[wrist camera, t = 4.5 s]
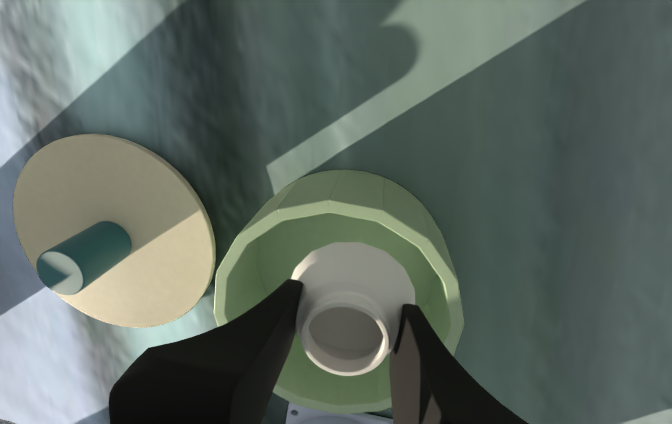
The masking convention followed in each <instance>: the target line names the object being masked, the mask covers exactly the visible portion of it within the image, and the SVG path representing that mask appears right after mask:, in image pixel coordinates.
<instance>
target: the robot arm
mask: <svg viewBox="0 0 672 424" xmlns="http://www.w3.org/2000/svg"><path fill="white" fill-rule="evenodd" d="M302 287H303V283H302V282H301V281H298V280H294V279H287V280H286V281H285V282H283V283H282V284H281V285H280V286H279V287H278V288H277V289H276V290H275V291H273V292H272V293H271V294H270V295H268V296H267V297H266V298H265V299H263V300H262V301H261V302H260V303H258V304H257V305H255V306H254V307H252V308H251V309H249V310H248V311H247V312H245V313H244V314H242V315H240V316H239V317H237V318H235V319H234V320H232V321H230V322H228V323H226V324H224V325H222V326H219V327H217V328H215V329H212V330H210V331H208V332H205V333H203V334H200V335H197V336H194V337H191V338H188V339H184V340H181V341H177V342H173V343H169V344H164V345H160V346H155V347H150V348H148V349H147V350H146V351H145V352H144V353H143V354H142V355H140V356H139V357H138V358H137V359H136V360H135V361H134V363H133V364H132V365H131V366H130V367H129V368H128V369H127V370H126V372H125V373H124V374H123V375H122V376H121V377H120V379H119V380H118V381H117V382H116V383H115V384H114V386H113V388H112V390H111V392H110V396H109V414H110V424H261V422H262V419H263V416H264V413H265V409H266V407H267V404H268V401H269V399H270V396H271V394H272V392H273V389H274V387H275V385H276V382H277V380H278V378H279V375H280V373H281V371H282V368H283V366H284V364H285V361H286V359H287V357H288V354H289V352H290V350H291V346H292V343H293V340H294V336H295V333H296V330H295V325H296V316H297V311H298V305H299V300H300V295H301V291H302ZM389 376H390V389H391V402H392V414H393V419H389V418H385V417H380V416H376V415H371V414H367V413H350V414H334V413H329V412H325V411H320V410H316V409H311V408H307V407H302V406H298V405H296V404H293V403H291V402H289V405H288V411H287V418H286V424H529V423H527V422H526V421H524V420H523V419H521V418H520V417H518V416H517V415H516V414H514V413H513V412H512V411H510V410H509V409H508V408H506V407H505V406H504V405H502V404H501V403H500V402H499V401H498V400H496V399H495V398H494V397H493V396H492V395H490V394H489V393H488V392H487V391H486V390H485V389H484V388H483V387H481V386H480V385H479V384H478V383H477V382H476V381H475V380H474V379H473V378H472V377H471V376H470V375H469V374H468V373H467V372H466V370H465V369H464V368H463V367H462V366H461V365H460V364H459V363H458V362H457V361H456V359H455V358H454V357H453V356H452V354H451V353H450V352H449V351H448V349H447V348H446V347H445V345H444V344H443V343H442V341H441V340H440V338H439V337H438V336H437V334H436V333H435V331H434V330H433V328H432V326H431V325H430V323H429V322H428V320H427V319H426V317H425V315H424V314H423V312H422V311H421V309H420V307H419V306H418V305H414V304H409V303H407V304H403V308H402V316H401V322H400V327H399V331H398V335H397V339H396V342H395V346H394V348H393V351H392V352H390V362H389ZM294 410H296V411H294ZM0 424H15V423H13V422H9V421H5V420H1V419H0Z"/></svg>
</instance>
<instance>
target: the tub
mask: <svg viewBox="0 0 672 424" xmlns="http://www.w3.org/2000/svg"><path fill="white" fill-rule="evenodd" d="M334 242H362V243H364V244H367V245H370V246H373V247H375V248H378V249H381V250H384V251H386V252H387V253H388V254H389V255H390V256H392V257H393V258H394V259H395V260H396V261H397V262H398V263H399V264H401V265H402V266H403V267H404V268H405V270H406V272H407V274H408V276H409V278H410V281H411V283H412V285H413V287H414V289H415V305H418V306H419V307H420V309H421V311H422V312H423V314H424V315H425V317H426V319H427V320H428V322H429V323H430V325H431V326H432V328H433V330H434V331H435V333H436V334H437V336H438V337H439V338H440V340H441V341H442V343H443V344H444V345H445V347H446V348H447V349H448V351H449V352H450V353H451V354H452V356H454V354H455V351H456V348H457V345H458V342H459V339H460V336H461V333H462V330H463V327H464V316H463V310H462V303H461V296H460V289H459V283H458V279H457V276H456V273H455V270H454V267H453V264H452V261H451V258H450V255H449V252H448V249H447V246H446V243H445V241H444V238H443V235H442V233H441V231H440V230H439V228H438V227H437V225H436V223H435V222H434V220H433V218H432V216H431V215H430V213H429V212H428V211H427V209H426V208H425V207H424V206H423V204H422V203H421V202H420V201H419V200H418V199H417V198H416V197H415V196H414V195H412V194H411V193H410V192H408V191H407V190H406V189H404V188H403V187H402V186H400V185H398V184H396V183H394V182H393V181H391V180H389V179H386V178H384V177H381V176H379V175H376V174H372V173H368V172H364V171H357V170H329V171H322V172H318V173H314V174H311V175H308V176H305V177H302V178H300V179H298V180H296V181H294V182H293V183H291V184H289V185H288V186H286V187H285V188H284V189H282V190H281V191H280V192H279V193H277V194H276V195H275V196H273V197H272V198H270V199H269V200H268V201H267V202H266V203H265V204H264V206H263V207H262V208H261V209H260V210H259V211H258V213H257V214H256V215H255V216H254V217H253V218H252V219H251V221H250V222H249V223H248V224H247V225H246V226H245V227H244V229H243V230H242V231H241V232H240V233H239V234H238V235H237V237H236V238H235V240H234V242H233V244H232V245H231V247H230V249H229V251H228V252H227V254H226V256H225V258H224V259H223V261H222V263H221V265H220V266H219V268H218V270H217V272H216V280H215V299H214V317H215V319H216V322H217V324H218V327H219V326H222V325H224V324H226V323H228V322H230V321H232V320H234V319H235V318H237V317H239V316H240V315H242V314H244V313H245V312H247V311H248V310H249V309H251V308H252V307H254V306H255V305H257V304H258V303H260V302H261V301H262V300H263V299H265V298H266V297H267V296H268V295H270V294H271V293H272V292H273V291H275V290H276V289H277V288H278V287H279V286H280V285H281V284H282V283H283V282H285V281H286V280H287V279H291V278H292V275H293V272H294V270H295V268H296V267H297V266H298V265H299V264H300V263H301V262H302V261H303V260H304V259H305V257H306V256H307V255H308V254H309V253H310V252H311V251H314V250H316V249H319V248H321V247H324V246H326V245H329V244H331V243H334ZM389 362H390V353H389V354H388V355H387V356H386V357H385V359H384V360H383V361H382V362H381V364H380V365H378V366H377V367H376V368H374V369H373V370H371V371H369V372H367V373H364V374H360V375H354V376H343V375H337V374H333V373H330V372H328V371H326V370H324V369H322V368H320V367H319V366H317V365H316V364H315V363H314V362H313V361H312V360H311V359H310V358H309V357H308V356H307V354H306V352H305V351H304V348H303V346H302V343H301V340H300V338H299V336H298V335H297V333H295V336H294V340H293V343H292V346H291V350H290V352H289V354H288V357H287V359H286V361H285V364H284V366H283V368H282V371H281V373H280V375H279V378H278V380H277V382H276V385H275V387H274V389H273V393H275V394H277V395H278V396H280V397H282V398H284V399H286V400H287V401H289V402H291V403H293V404H296V405H298V406H302V407H307V408H311V409H316V410H320V411H325V412H329V413H334V414H350V413H363V412H376V411H381V410H382V411H383V410H385V409H388V408H390V407H392V402H391V389H390V376H389Z"/></svg>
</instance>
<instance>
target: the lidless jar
mask: <svg viewBox="0 0 672 424" xmlns="http://www.w3.org/2000/svg"><path fill="white" fill-rule="evenodd" d="M291 279H294V280H298V281H301V282H302V283H303V287H302V291H301V295H300V300H299V305H298V311H297V316H296V325H295V330H296V333H297V335H298V336H299V338H300V340H301V343H302V346H303V348H304V351H305V352H306V354H307V356H308V357H309V358H310V359H311V360H312V361H313V362H314V363H315V364H316V365H317V366H319V367H320V368H322V369H324V370H326V371H328V372H330V373H333V374H337V375H343V376H354V375H360V374H364V373H367V372H369V371H371V370H373V369H374V368H376V367H377V366H378V365H380V364H381V362H382V361H383V360H384V359H385V357H386V356H387V355H388V354H389V353H390V352H392V351H393V348H394V346H395V342H396V339H397V335H398V331H399V327H400V322H401V316H402V308H403V304H407V303H409V304H414V305H415V289H414V287H413V285H412V283H411V281H410V278H409V276H408V274H407V272H406V270H405V268H404V267H403V266H402V265H401V264H399V263H398V262H397V261H396V260H395V259H394V258H393V257H392V256H390V255H389V254H388V253H387V252H386V251H384V250H381V249H378V248H375V247H373V246H370V245H367V244H364V243H362V242H334V243H331V244H329V245H326V246H324V247H321V248H319V249H316V250H314V251H311V252H310V253H309V254H308V255H307V256H306V257H305V259H304V260H303V261H302V262H301V263H300V264H299V265H298V266H297V267H296V268H295V270H294V272H293V275H292V278H291Z"/></svg>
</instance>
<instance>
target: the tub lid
mask: <svg viewBox="0 0 672 424" xmlns="http://www.w3.org/2000/svg"><path fill="white" fill-rule="evenodd" d="M13 216H14V223H15V228H16V232H17V235H18V238H19V241H20V244H21V246H22V248H23V250H24V252H25V254H26V257H27V258H28V260H29V261H30V263H31V265H32V266H33V268H34V269H35V271H36V272H37V273H38V275H39V277H40V279H41V280H42V282H43V283H44V284H45V285H46V286H47V287H48V288H50V289H51V290H53V291H54V292H55V293H56V294H57V295H58V296H59V297H61V298H62V299H63V300H65V301H66V302H67V303H69V304H70V305H71V306H73V307H75V308H76V309H78V310H79V311H81V312H83V313H85V314H87V315H89V316H91V317H93V318H96V319H98V320H101V321H103V322H107V323H110V324H114V325H118V326H124V327H135V328H144V327H154V326H159V325H163V324H166V323H169V322H171V321H174V320H176V319H178V318H180V317H181V316H183V315H184V314H186V313H187V312H188V311H190V310H191V309H192V308H193V307H194V306H195V305H196V304H197V303H198V302H199V300H200V299H201V298H202V296H203V295H204V293H205V292H206V290H207V288H208V286H209V284H210V282H211V280H212V276H213V273H214V269H215V261H216V244H215V238H214V232H213V229H212V225H211V222H210V219H209V217H208V214H207V212H206V210H205V207H204V205H203V204H202V202H201V200H200V199H199V197H198V195H197V194H196V192H195V191H194V189H193V188H192V187H191V185H190V184H189V183H188V182H187V180H186V179H185V178H184V177H183V176H182V175H181V174H180V173H179V172H178V171H177V170H176V169H175V168H174V167H173V166H171V165H170V164H169V163H168V162H167V161H165V160H164V159H163V158H161V157H160V156H158V155H157V154H155V153H154V152H152V151H150V150H148V149H147V148H145V147H143V146H141V145H139V144H136V143H134V142H131V141H129V140H126V139H123V138H119V137H115V136H111V135H103V134H80V135H75V136H69V137H65V138H62V139H59V140H56V141H53V142H51V143H50V144H48V145H46V146H44V147H42V148H41V149H40V150H39V151H37V152H36V153H35V154H34V155H33V156H32V157H31V158H30V159H29V160H28V162H27V163H26V164H25V166H24V167H23V169H22V171H21V172H20V174H19V177H18V180H17V182H16V185H15V190H14V195H13Z"/></svg>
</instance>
